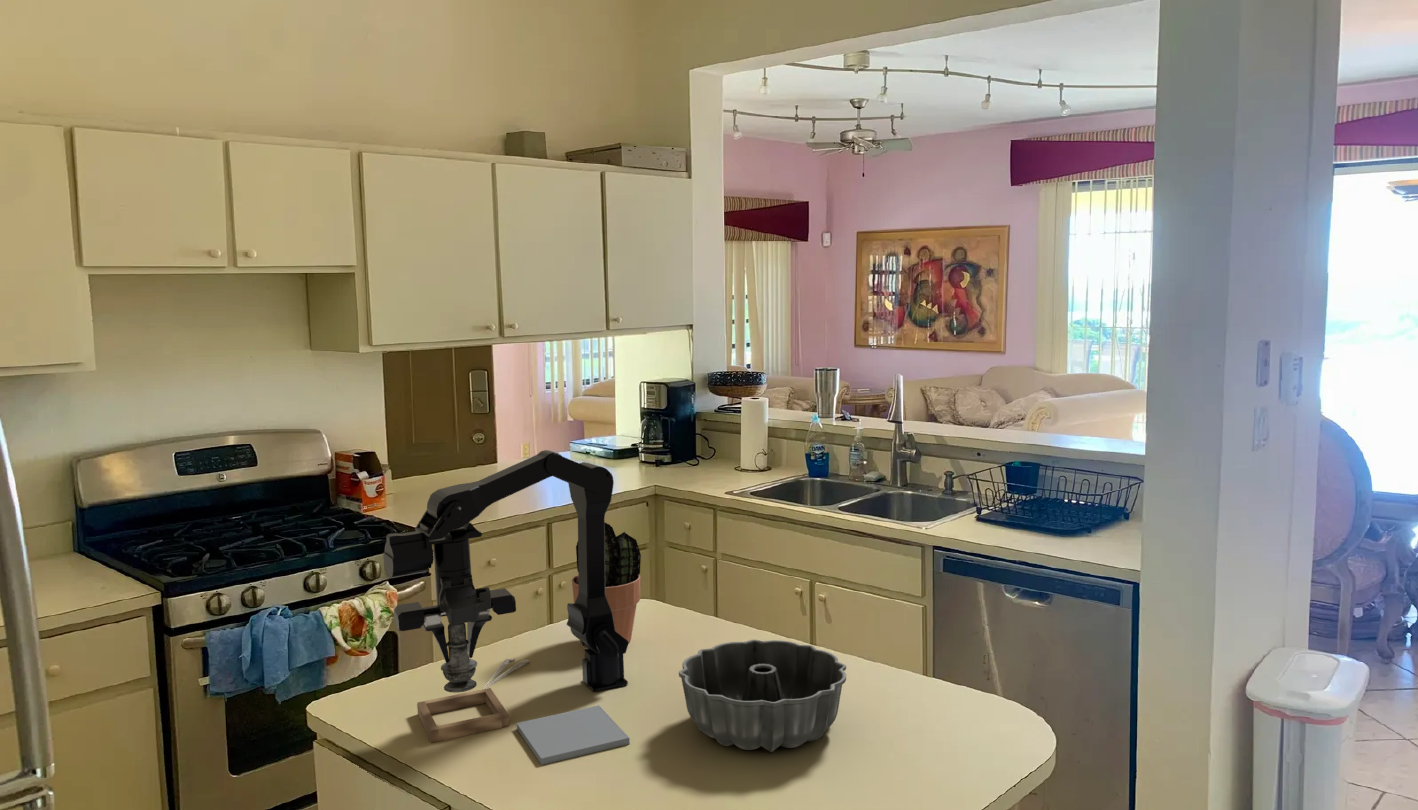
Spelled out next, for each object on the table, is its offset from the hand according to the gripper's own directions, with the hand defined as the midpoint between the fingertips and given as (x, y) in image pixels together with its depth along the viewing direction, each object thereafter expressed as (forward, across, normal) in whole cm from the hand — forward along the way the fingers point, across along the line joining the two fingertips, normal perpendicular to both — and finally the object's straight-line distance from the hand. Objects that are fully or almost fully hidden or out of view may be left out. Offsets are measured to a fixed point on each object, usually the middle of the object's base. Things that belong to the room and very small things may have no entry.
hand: (458, 659), depth 163 cm
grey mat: (+10, +14, -15) cm, 23 cm away
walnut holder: (+10, 0, 0) cm, 10 cm away
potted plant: (+11, +34, +23) cm, 42 cm away
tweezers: (+11, +10, +15) cm, 21 cm away
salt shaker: (+5, 0, 0) cm, 5 cm away
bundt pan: (+11, +42, -27) cm, 51 cm away
